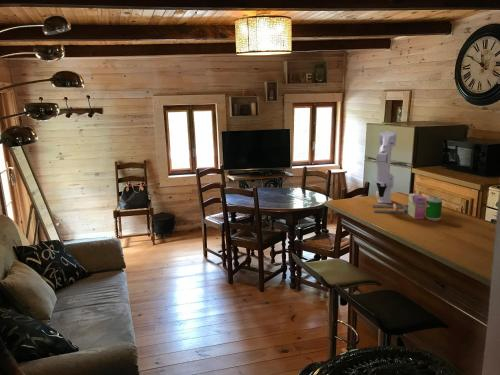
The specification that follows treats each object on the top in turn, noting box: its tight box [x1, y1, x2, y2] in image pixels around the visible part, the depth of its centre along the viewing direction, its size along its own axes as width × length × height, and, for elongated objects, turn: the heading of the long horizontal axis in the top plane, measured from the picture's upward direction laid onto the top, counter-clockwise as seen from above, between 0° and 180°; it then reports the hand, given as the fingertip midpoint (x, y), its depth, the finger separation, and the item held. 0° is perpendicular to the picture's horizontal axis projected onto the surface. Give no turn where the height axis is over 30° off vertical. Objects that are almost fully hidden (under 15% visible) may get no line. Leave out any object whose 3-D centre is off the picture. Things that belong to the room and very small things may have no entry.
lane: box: [372, 204, 409, 215], centre depth 243 cm, size 13×18×2 cm
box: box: [407, 193, 427, 220], centre depth 228 cm, size 10×6×12 cm, turn 179°
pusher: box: [392, 203, 398, 211], centre depth 242 cm, size 10×1×2 cm, turn 167°
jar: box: [375, 188, 385, 201], centre depth 243 cm, size 5×5×6 cm
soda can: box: [425, 196, 443, 222], centre depth 222 cm, size 8×8×12 cm
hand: (381, 195), depth 243 cm, fingers closed on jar, 5 cm apart
